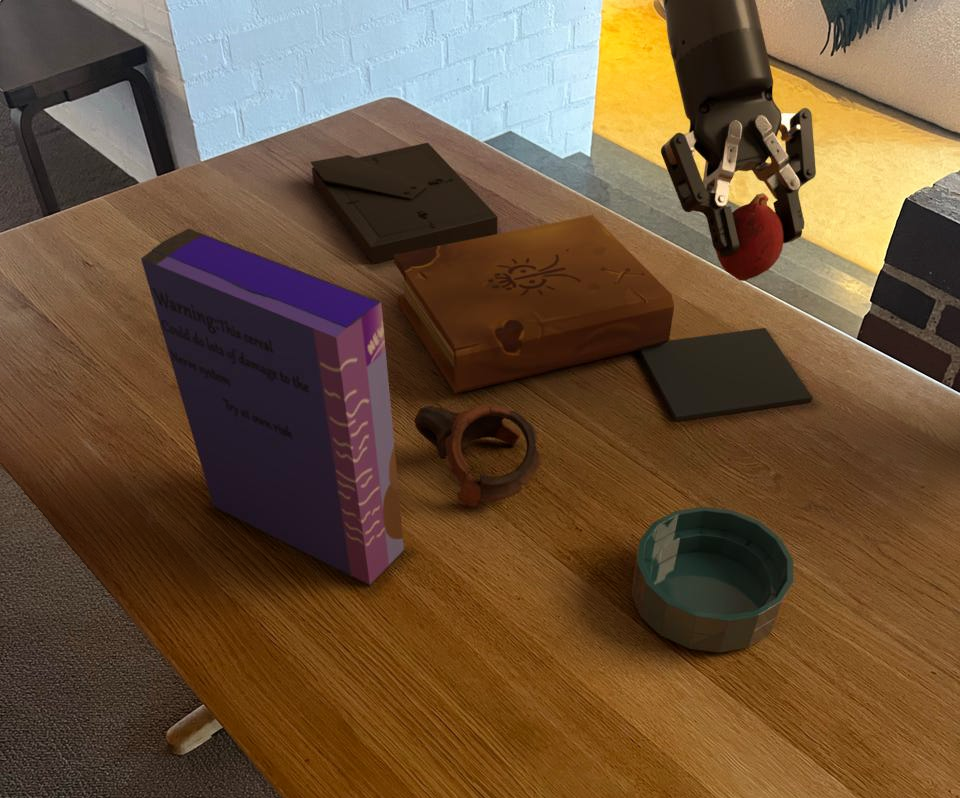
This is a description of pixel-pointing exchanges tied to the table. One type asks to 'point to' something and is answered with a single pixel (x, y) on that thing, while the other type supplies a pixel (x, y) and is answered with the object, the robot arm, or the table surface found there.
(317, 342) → the purple book
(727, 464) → the table surface
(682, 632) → the bowl
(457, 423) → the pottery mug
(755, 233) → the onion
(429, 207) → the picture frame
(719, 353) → the mat
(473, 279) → the diary
